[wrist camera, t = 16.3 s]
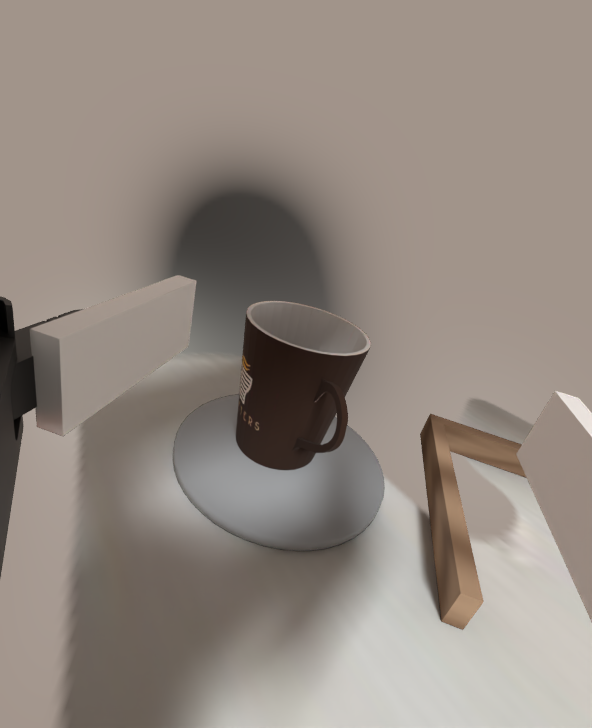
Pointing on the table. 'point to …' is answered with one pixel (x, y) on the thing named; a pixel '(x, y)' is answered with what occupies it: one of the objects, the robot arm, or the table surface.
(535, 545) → the table surface
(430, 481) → the brown wooden open frame
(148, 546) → the table surface
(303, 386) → the coffee mug
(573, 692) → the table surface
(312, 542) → the mat
